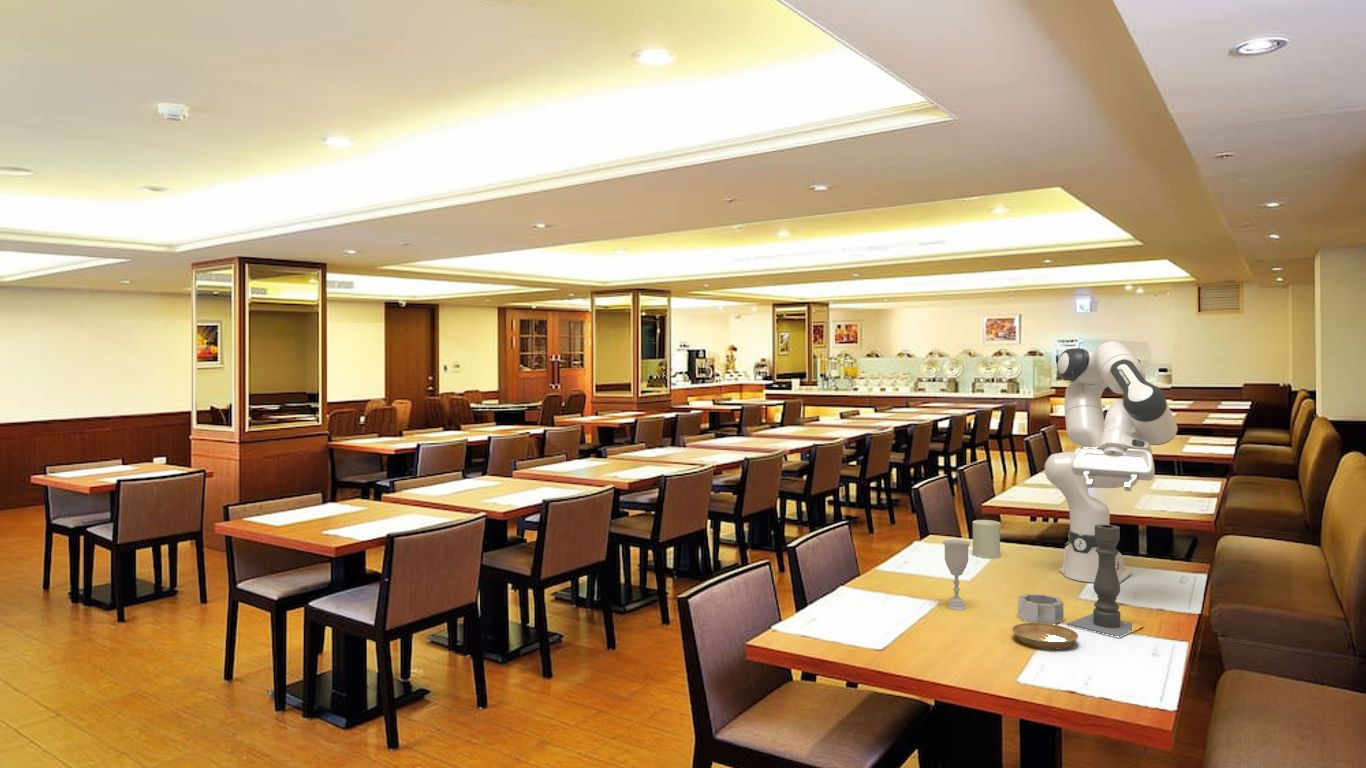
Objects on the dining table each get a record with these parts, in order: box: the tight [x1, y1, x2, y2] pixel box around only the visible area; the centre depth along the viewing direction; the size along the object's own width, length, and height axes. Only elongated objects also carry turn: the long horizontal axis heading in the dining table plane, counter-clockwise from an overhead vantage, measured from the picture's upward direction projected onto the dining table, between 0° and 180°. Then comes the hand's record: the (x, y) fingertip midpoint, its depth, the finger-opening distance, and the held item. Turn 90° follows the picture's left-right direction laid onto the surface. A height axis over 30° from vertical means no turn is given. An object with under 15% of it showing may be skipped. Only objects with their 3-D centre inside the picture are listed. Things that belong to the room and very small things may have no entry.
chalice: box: [942, 538, 971, 611], centre depth 233 cm, size 7×7×18 cm
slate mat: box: [1066, 613, 1133, 637], centre depth 214 cm, size 13×13×1 cm
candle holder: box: [1092, 524, 1121, 628], centre depth 214 cm, size 6×6×25 cm
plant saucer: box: [1011, 622, 1079, 650], centre depth 204 cm, size 15×15×3 cm
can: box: [971, 519, 1002, 559], centre depth 292 cm, size 9×9×12 cm
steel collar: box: [1017, 593, 1064, 625], centre depth 222 cm, size 10×10×5 cm
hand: (1107, 488), depth 226 cm, fingers open, 8 cm apart
